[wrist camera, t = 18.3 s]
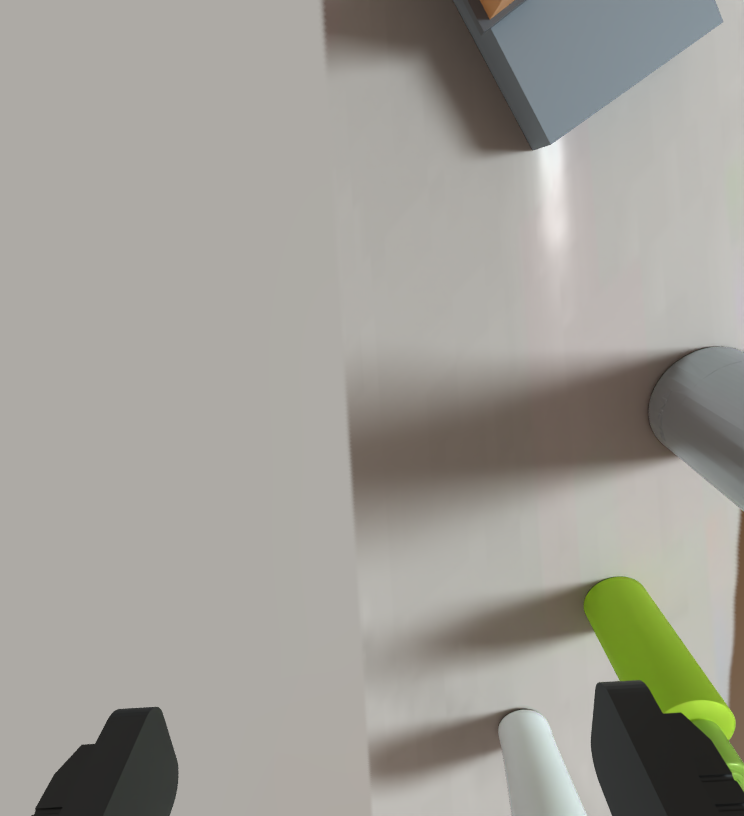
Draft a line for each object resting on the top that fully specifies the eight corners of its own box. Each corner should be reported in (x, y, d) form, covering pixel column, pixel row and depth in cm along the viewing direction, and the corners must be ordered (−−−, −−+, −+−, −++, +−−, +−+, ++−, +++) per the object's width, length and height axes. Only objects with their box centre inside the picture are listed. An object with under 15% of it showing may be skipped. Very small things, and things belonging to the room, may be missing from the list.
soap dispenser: (561, 609, 50) (673, 849, 32) (620, 565, 49) (775, 792, 30) (601, 642, 52) (729, 890, 33) (659, 600, 50) (830, 838, 31)
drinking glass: (556, 744, 57) (615, 921, 43) (492, 751, 57) (530, 928, 43) (553, 697, 54) (616, 869, 40) (487, 705, 55) (526, 877, 41)
